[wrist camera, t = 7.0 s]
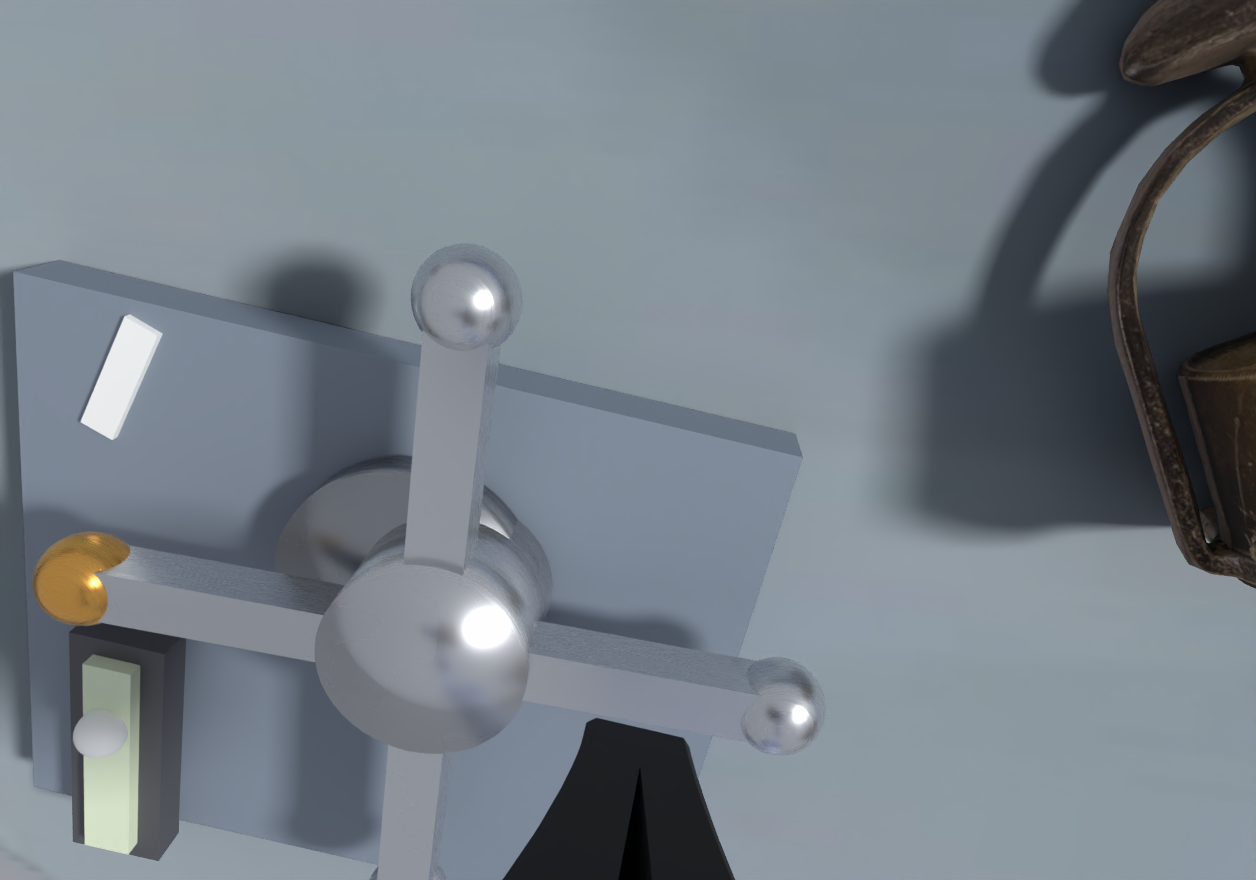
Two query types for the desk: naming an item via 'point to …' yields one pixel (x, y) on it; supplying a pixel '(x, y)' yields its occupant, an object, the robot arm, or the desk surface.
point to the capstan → (429, 594)
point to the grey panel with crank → (254, 520)
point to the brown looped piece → (1223, 374)
